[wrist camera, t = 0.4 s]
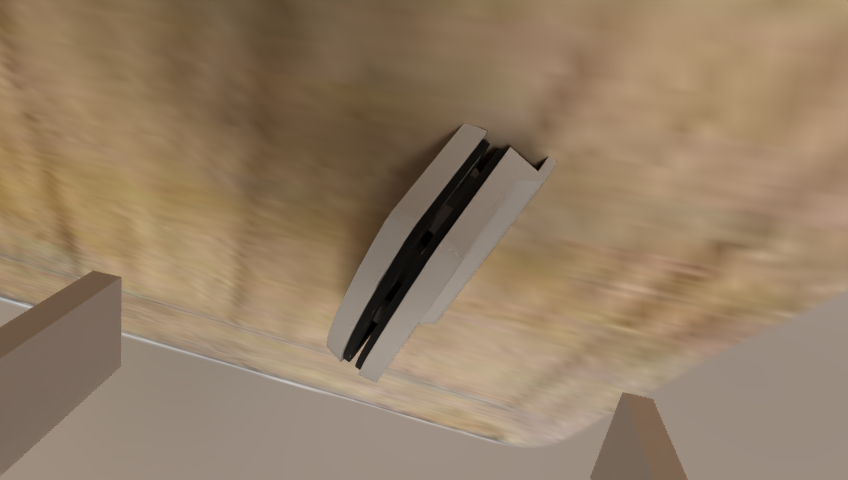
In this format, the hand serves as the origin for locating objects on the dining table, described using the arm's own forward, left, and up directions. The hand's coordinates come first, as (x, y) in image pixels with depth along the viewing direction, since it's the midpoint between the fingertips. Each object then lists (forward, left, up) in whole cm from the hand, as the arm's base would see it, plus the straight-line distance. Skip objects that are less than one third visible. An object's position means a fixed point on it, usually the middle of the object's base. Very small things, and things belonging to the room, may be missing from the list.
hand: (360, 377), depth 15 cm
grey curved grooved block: (+13, 0, -16) cm, 20 cm away
